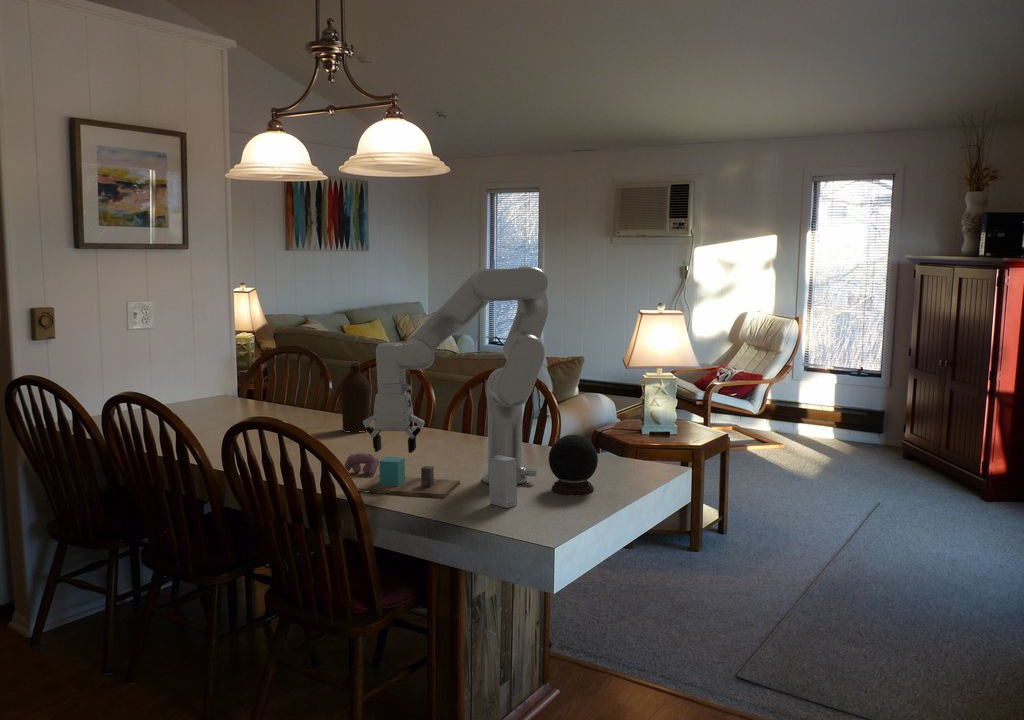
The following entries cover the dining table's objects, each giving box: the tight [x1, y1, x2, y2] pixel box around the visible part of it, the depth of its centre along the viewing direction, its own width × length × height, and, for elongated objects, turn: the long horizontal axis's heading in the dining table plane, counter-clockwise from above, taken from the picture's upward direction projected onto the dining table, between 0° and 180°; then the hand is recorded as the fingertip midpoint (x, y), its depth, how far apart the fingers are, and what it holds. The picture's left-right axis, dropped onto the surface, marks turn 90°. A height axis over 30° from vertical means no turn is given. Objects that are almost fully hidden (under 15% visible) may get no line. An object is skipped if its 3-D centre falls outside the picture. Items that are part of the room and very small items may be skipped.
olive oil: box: [340, 360, 372, 432], centre depth 301 cm, size 11×11×25 cm
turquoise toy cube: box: [379, 456, 406, 486], centre depth 227 cm, size 5×5×7 cm
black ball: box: [548, 434, 599, 497], centre depth 225 cm, size 13×13×15 cm
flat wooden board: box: [357, 465, 461, 499], centre depth 227 cm, size 24×14×6 cm, turn 77°
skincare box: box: [488, 455, 518, 509], centre depth 211 cm, size 6×4×12 cm
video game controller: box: [343, 452, 380, 477], centre depth 242 cm, size 10×5×7 cm, turn 75°
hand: (394, 451), depth 227 cm, fingers open, 9 cm apart
